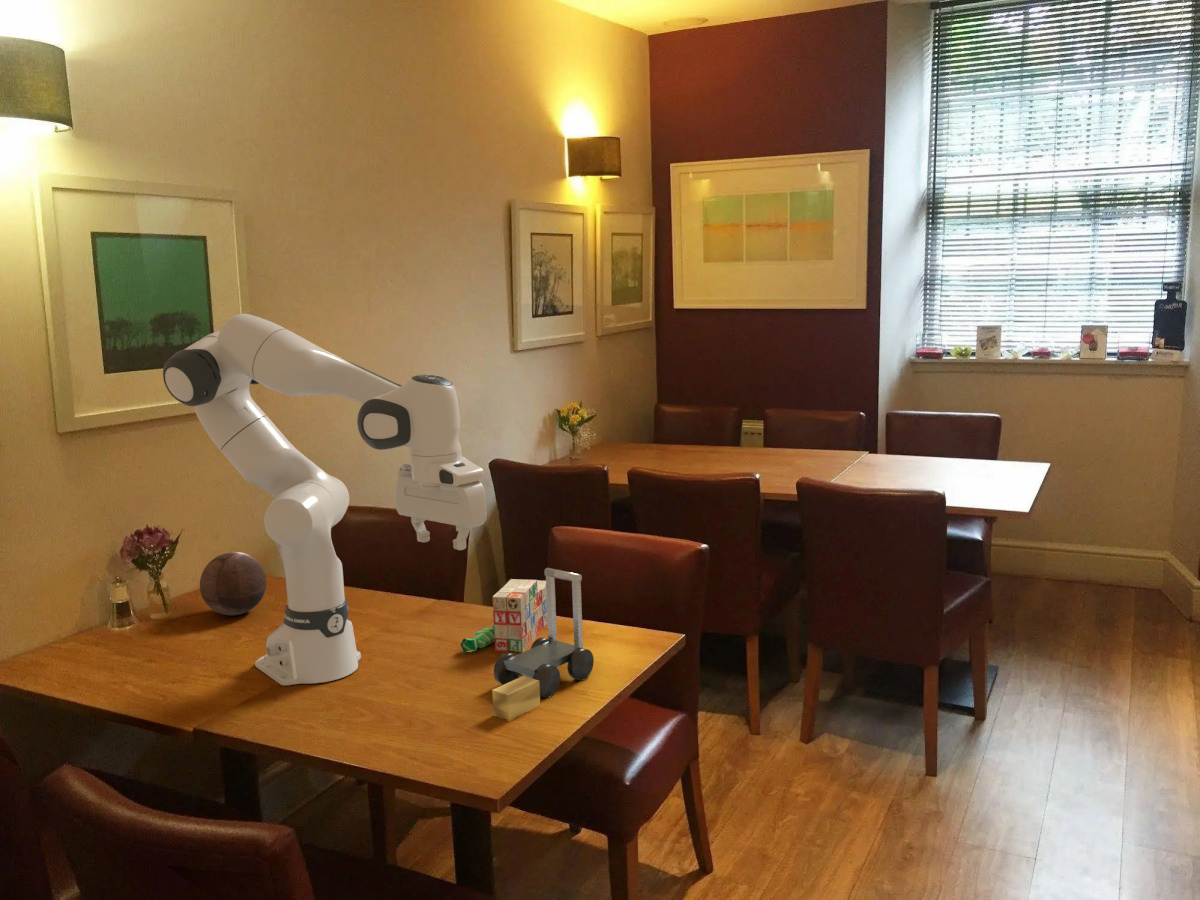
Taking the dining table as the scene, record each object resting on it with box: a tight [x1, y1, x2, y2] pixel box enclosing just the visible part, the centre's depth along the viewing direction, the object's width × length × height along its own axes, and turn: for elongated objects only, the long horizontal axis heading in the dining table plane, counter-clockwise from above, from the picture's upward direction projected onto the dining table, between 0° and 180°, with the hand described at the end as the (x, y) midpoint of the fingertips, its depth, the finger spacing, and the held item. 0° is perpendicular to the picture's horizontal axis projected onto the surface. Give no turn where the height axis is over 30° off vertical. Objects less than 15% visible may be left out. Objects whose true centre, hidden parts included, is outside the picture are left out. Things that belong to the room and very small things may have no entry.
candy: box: [460, 623, 495, 654], centre depth 215 cm, size 12×3×4 cm
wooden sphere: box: [199, 551, 268, 616], centre depth 240 cm, size 15×15×15 cm
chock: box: [491, 676, 541, 721], centre depth 181 cm, size 4×8×5 cm, turn 140°
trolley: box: [493, 567, 595, 699], centre depth 193 cm, size 16×12×20 cm
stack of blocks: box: [492, 578, 548, 653], centre depth 220 cm, size 21×6×12 cm, turn 166°
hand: (441, 545), depth 177 cm, fingers open, 8 cm apart
